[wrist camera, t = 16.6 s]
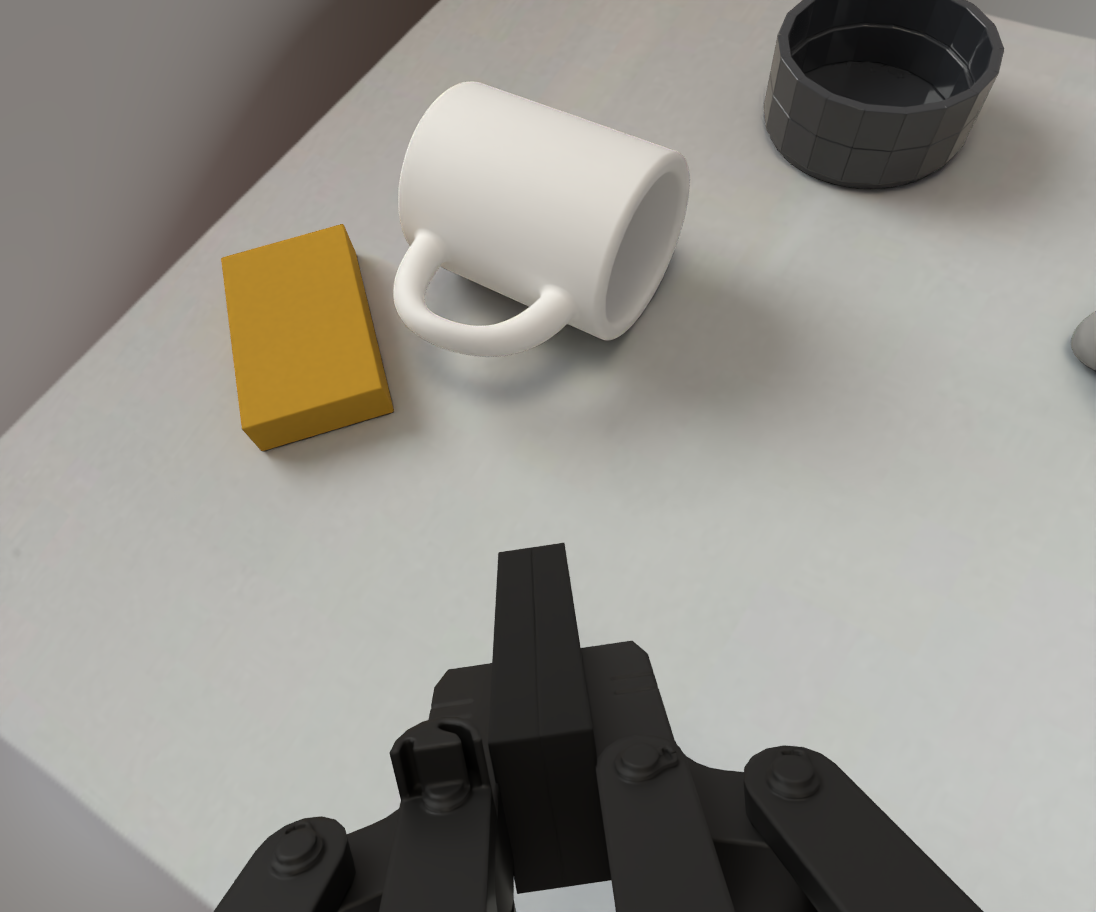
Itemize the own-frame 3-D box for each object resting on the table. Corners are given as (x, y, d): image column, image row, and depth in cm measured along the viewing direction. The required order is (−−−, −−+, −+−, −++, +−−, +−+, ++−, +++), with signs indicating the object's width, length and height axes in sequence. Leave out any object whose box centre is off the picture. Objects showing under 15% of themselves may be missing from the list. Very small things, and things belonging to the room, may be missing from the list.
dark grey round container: (816, 216, 36) (840, 138, 32) (731, 89, 41) (744, 8, 37) (1003, 161, 37) (1050, 78, 33) (899, 43, 42) (928, -42, 38)
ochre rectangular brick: (261, 452, 33) (241, 429, 31) (238, 285, 37) (220, 257, 36) (394, 412, 33) (382, 387, 31) (355, 252, 38) (342, 222, 36)
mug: (511, 186, 39) (488, 40, 32) (684, 255, 36) (700, 110, 29) (370, 352, 35) (307, 226, 28) (552, 446, 32) (533, 330, 25)
